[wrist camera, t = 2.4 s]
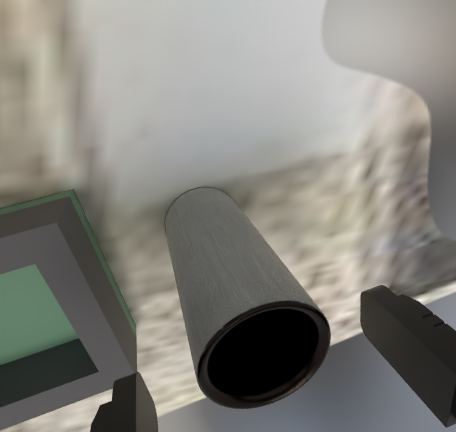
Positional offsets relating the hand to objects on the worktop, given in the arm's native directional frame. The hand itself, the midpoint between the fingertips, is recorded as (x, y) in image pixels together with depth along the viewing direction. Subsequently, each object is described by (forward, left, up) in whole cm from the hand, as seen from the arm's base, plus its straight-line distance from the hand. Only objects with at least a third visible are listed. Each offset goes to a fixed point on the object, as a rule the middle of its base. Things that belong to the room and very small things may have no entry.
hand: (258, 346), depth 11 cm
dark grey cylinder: (0, 0, -10) cm, 10 cm away
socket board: (+1, -11, -9) cm, 14 cm away
